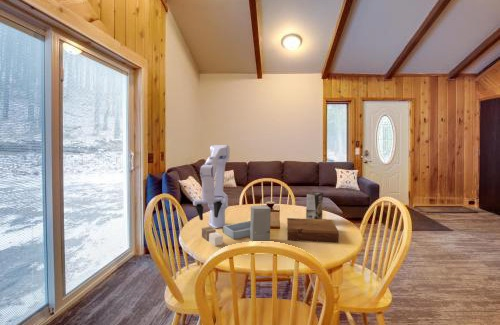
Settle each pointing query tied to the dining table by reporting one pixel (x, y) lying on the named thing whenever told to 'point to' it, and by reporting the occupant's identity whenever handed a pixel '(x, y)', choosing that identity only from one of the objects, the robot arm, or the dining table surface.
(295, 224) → the brown flat block
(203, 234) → the walnut block
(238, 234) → the tote
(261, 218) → the skincare box
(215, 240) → the cream box
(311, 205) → the coffee box
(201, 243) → the dining table surface
